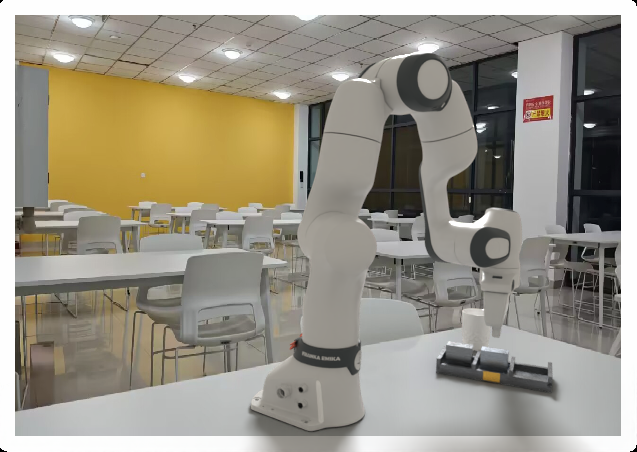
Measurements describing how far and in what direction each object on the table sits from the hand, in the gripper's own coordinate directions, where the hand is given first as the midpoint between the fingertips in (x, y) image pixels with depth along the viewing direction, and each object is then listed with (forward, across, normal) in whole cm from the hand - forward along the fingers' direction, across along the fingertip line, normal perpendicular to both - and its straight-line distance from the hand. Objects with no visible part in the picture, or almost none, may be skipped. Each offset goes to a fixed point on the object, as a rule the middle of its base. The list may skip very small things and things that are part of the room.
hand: (496, 335), depth 120 cm
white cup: (+10, -19, -7) cm, 22 cm away
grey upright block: (+8, 0, 0) cm, 8 cm away
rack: (+9, 0, 0) cm, 9 cm away
